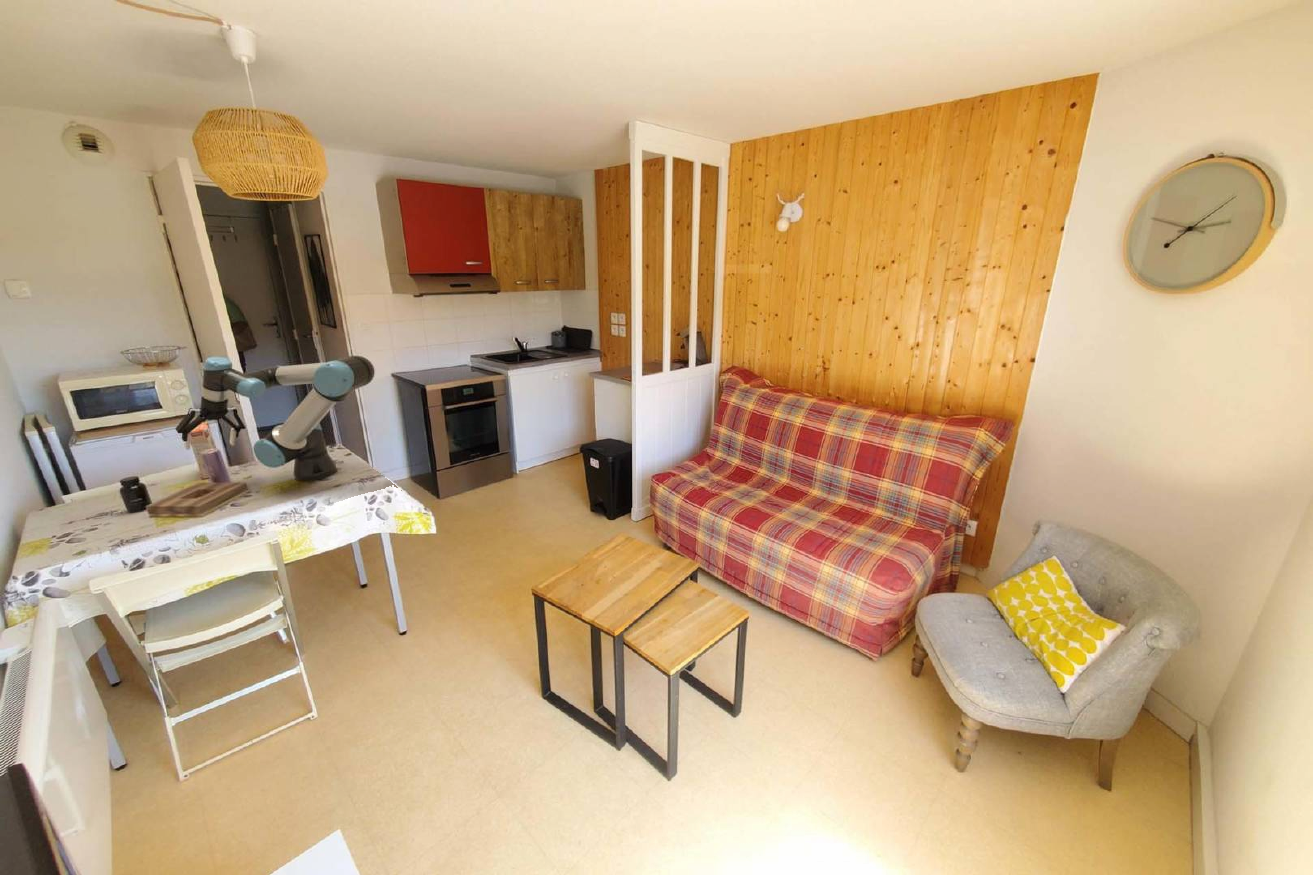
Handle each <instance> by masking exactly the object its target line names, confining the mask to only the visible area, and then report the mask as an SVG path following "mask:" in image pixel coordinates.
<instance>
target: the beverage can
mask: <svg viewBox="0 0 1313 875" xmlns="http://www.w3.org/2000/svg"><path fill="white" fill-rule="evenodd" d="M201 458H202V460H203V463H204V466H205V469H206V472H207V474H208V477H209V478H208V479H209V483H232V482H231V478H230V475H229V473H228V470H227V467H226V463H225V461H224V457H223V454H222V453H221V450H220V448H217V447H216V448H214V449H208V450H204V451H202V452H201Z"/></svg>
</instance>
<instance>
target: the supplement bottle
mask: <svg viewBox="0 0 1313 875" xmlns="http://www.w3.org/2000/svg"><path fill="white" fill-rule="evenodd" d="M119 483H120V486H121V487H119V494H120V497H121V499H122V502H123V504H124V507H125V509H126V511H127V512H129V513H138V512H142V511H145V510H146V511H147V509H146V507H145V506H147V505H150V504H152V503H153V502H152V499H151V496H150V493H149V490H148V489H147V486H146V484H145V483H143V482H141V480H140V477H139V476H137V475H136V476H134V475H133V476H128V477H124V478H121V479H120V480H119Z"/></svg>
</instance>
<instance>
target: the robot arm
mask: <svg viewBox="0 0 1313 875" xmlns="http://www.w3.org/2000/svg"><path fill="white" fill-rule="evenodd" d="M204 361H205V362H204V365H203V378H202V388H201V400H200V407H199V409H198V408H197V409H194V408H193V407H190V408H189V409H188V412H187V414H185V416H184V418H183V419H182V420H181V421H180V422H179V423H178V425H176V427H175V431H176V432H177V433H178V434H181V439H182V441H183V442H184V448H185V449H186V450H191V443H190V440H191V434H190V432H191V431H192V430H193V429H195V428H196V427H197V426H199V425H200V424H201V423H206V421H219V420H223V421H224V422H225V423H227V424H228V425H229V426H230V427H231V428H230V435H229V436H230V437H229V444H230V445H231V447H232V446H235V445H236V444H235V443H236V438H238V437H239V436H240V435H239V433H241V430H245V429H246V426H245V424H244V423H243V421H242V419H241V418H240V416H239V413H238V409H237V408H236V407H235V406H233V405H232V406H231V407H229V408H228V406H229V404H228V403H229V395H230V391H231V392H233V393H236V394H237V395H240V396H242V397H245V398H248V399H251V400H255V399H259V398H260V397H261V396H263V395H264V394H265V392H266V390H268V389H271V388H272V389H273V388H275V387H285V386H297V385H307V384H308V385H309V384H311V387H312V389H311V390H310V391H309V393H308V394H307V395H306V396H305V397H304V399H303V400H302V402H300V403H299V405H298V406H297V407H296V408H295V409H294V411H293V412H292V413H291V414H290V415H289V416H288V418H287V419H286V420H285V421H284V423H283V424H279V425H276V426H274V428H273V429H272V430H271V431H269V433H268V434H267V435H266V436H265V437H264V438H260V439H258V440H257V441H256V442H255V443H254V444H253V453H254V454H255V457H256V459H257V460H258V462H260V463H261V464H262V465H264V466H266V467H268V468H274V469H275V468H279V467H282V466H284V465H285V464H288V463H290V462H292V461H294V464H293V465H294V466H293V477H294V480H295V481H299V482H308V481H309V482H310V481H316V480H321V479H325V478H327V477H329V476H332V475H334V474H335V473H337V472H338V466H337V463H336V462H334V461H333V459H332V457H331V455H330V454H329V452H328V448H327V444H326V441H325V440H326V439H325V437H324V434H323V432H324V431H323V428H322V426H321V421H322V420H323V419H324V417H326V415H327V414H328V413H329V411H331V409H332V408H333V407H334V406H335V405H336V404H337V403H343V402H344V401H346V399H347V398H348V397H349V396H350V394H352V392H353V391H355V390H357V389H359V388H362V387H364V386H367V385H369V384H370V383H372V381H373V379H374V377H375V375H376V374H375V372H376V370H375V368H374V365H373V363H372V362H371V361H370V360H369V359H368V358H366V357H364V356H361V355H351V356H347V357H340V358H339V359H336V360H331V361H330V360H329V361H326V362H325V361H324V362H315V363H305V364H304V363H303V364H295V365H294V364H293V365H283V366H282V365H273V366H268V367H266V368H262V369H257V370H253V371H249V372H245V373H244V372H241V371H239V370H236V369H234V368H233V363H232V361H231V360H230V359H228V358H225V357H222V356H211V357H208V358H206V359H205V360H204ZM228 413H230V415H232V416H233V418H234V419H235V421H236V423H237V424H238V425H237V424H236V423H235V422H233V421H232V420H231V419H230V418H229V417H227V416H226V415H227V414H228ZM195 416H197V417H196V418H195ZM194 418H195V419H194Z"/></svg>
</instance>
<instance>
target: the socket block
mask: <svg viewBox="0 0 1313 875" xmlns="http://www.w3.org/2000/svg"><path fill="white" fill-rule="evenodd" d="M248 493H250V490H249V487H248V484H247V482H245V481H244V482H242V481H241V482H231V483H210V482H196V483H194V484H192V485H189V486H188V487H186V488H182V489H180V490H179V491H176V492H175V493H172V494H170V495H168V496H165V497H163V498H161V499H159V500H156V501H154V502H152V504H150V505H147V506H145V507H146V511H147V514H148V516H149V517H151V518H152V517H163V518H164V517H179V518H180V517H185V518H186V517H192V518H193V517H198V518H199V517H204V516H207V515H208V514H210V513H212V512H214V511H216V510H218V509H220V508H221V507H224V506H225V505H228V504H230V503H231V502H233V501H235V500H237V499H239V498H241V497H243V496H244V495H246V494H248Z"/></svg>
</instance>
